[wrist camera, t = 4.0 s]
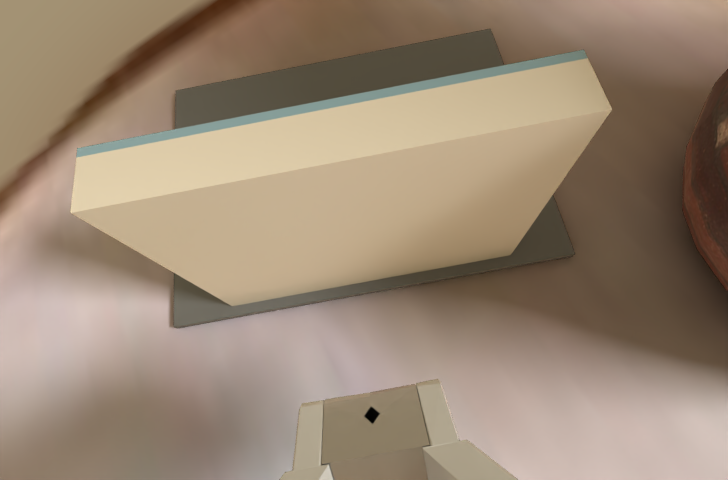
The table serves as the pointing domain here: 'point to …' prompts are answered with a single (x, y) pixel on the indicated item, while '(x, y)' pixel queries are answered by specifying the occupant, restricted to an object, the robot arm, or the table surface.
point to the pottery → (709, 181)
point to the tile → (348, 181)
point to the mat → (339, 81)
